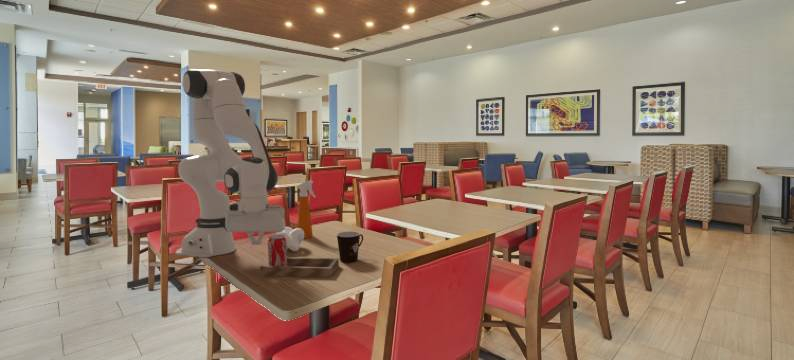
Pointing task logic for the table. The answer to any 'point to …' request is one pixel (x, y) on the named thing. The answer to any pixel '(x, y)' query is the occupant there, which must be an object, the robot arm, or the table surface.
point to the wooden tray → (303, 267)
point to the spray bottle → (305, 209)
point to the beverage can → (277, 250)
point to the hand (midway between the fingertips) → (256, 244)
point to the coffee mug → (349, 246)
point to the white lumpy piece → (293, 237)
